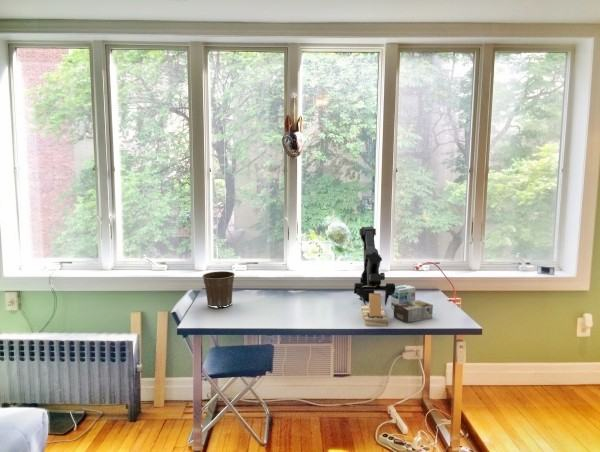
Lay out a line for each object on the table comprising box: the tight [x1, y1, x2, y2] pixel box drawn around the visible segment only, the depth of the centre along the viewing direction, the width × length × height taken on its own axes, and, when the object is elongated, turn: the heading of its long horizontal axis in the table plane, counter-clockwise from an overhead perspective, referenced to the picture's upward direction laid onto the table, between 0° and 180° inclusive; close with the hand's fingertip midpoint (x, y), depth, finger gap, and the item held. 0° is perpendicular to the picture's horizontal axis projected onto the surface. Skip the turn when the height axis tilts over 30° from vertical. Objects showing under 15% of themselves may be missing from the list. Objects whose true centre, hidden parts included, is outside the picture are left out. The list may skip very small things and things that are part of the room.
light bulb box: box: [390, 284, 417, 310], centre depth 213 cm, size 11×7×11 cm, turn 118°
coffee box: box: [393, 299, 434, 324], centre depth 199 cm, size 9×6×16 cm
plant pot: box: [202, 270, 236, 308], centre depth 219 cm, size 16×16×16 cm
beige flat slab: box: [360, 304, 389, 327], centre depth 200 cm, size 22×10×2 cm, turn 177°
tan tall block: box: [368, 292, 382, 318], centre depth 194 cm, size 4×5×12 cm
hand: (375, 304), depth 193 cm, fingers open, 9 cm apart
